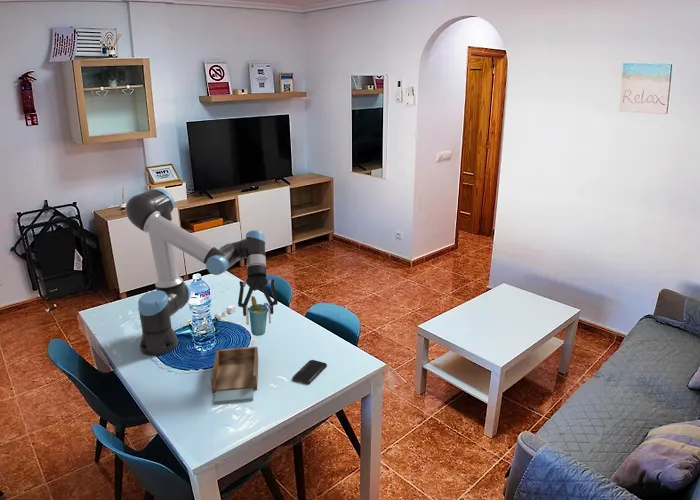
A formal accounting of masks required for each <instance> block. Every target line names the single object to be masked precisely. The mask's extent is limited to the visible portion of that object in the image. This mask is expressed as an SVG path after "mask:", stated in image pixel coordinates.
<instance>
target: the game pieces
mask: <svg viewBox="0 0 700 500" xmlns="http://www.w3.org/2000/svg"><path fill="white" fill-rule="evenodd" d="M235 312H236V306H235V305H233V304H232V305H231V304H230V305H228V306H227V307H226V310H223V313H220V312H218V313H215V314H214V316H213V317H214V318H215V317H216V318H218V321H220V320H222V318H226V317H228V316H229V314H233V313H235ZM216 318H215V319H216Z"/></svg>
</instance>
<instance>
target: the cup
mask: <svg viewBox="0 0 700 500" xmlns="http://www.w3.org/2000/svg"><path fill="white" fill-rule="evenodd" d="M250 300H251V306H248V315H249V320H250V323H249V324H250V333H251V334H252V336H255V337H260V336H264V334H266V327H267V319H268V318H267V317H268V307H269V308H270V309H271V308H272V307H271V306H270V305H269V303H267V302H264V303H263V304H261V303H258V302H257V299H256V297H255V296H254V295H251V297H250Z"/></svg>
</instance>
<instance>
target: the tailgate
mask: <svg viewBox="0 0 700 500" xmlns="http://www.w3.org/2000/svg"><path fill="white" fill-rule="evenodd" d="M254 391H255V390H253V388H249V389H237V390H226V391H216V393H214V394H215V395H214V400H213V403H214V405H215V404H216V405H217V404H227V403H235V402H236V403H237V402H247V401H254Z"/></svg>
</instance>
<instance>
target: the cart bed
mask: <svg viewBox="0 0 700 500" xmlns="http://www.w3.org/2000/svg"><path fill="white" fill-rule="evenodd" d="M210 377H211V378H210V383H211V391H212V394H215V393H216V391H226V390H237V389H249V388H253V390H254V391H256V390H258V377H259V351H258V346H249V347H247V346H246V347H234V348H224V349H216V352H215V357H214V362H213V366H212V372H211V376H210Z"/></svg>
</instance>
